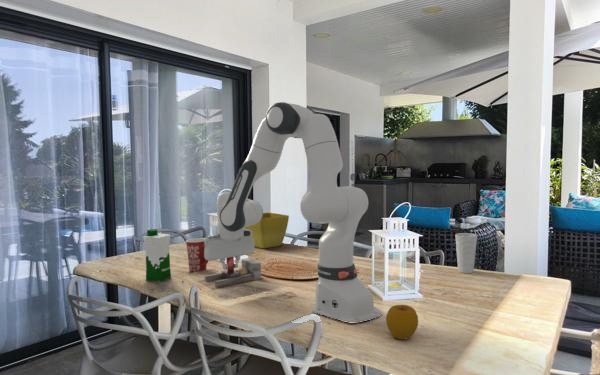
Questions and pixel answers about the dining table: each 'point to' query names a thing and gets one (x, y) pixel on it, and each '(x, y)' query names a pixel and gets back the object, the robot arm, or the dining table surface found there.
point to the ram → (229, 269)
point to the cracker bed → (217, 281)
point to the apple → (402, 321)
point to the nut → (242, 271)
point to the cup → (466, 251)
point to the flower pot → (269, 230)
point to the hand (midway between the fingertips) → (230, 268)
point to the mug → (196, 254)
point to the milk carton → (157, 255)
